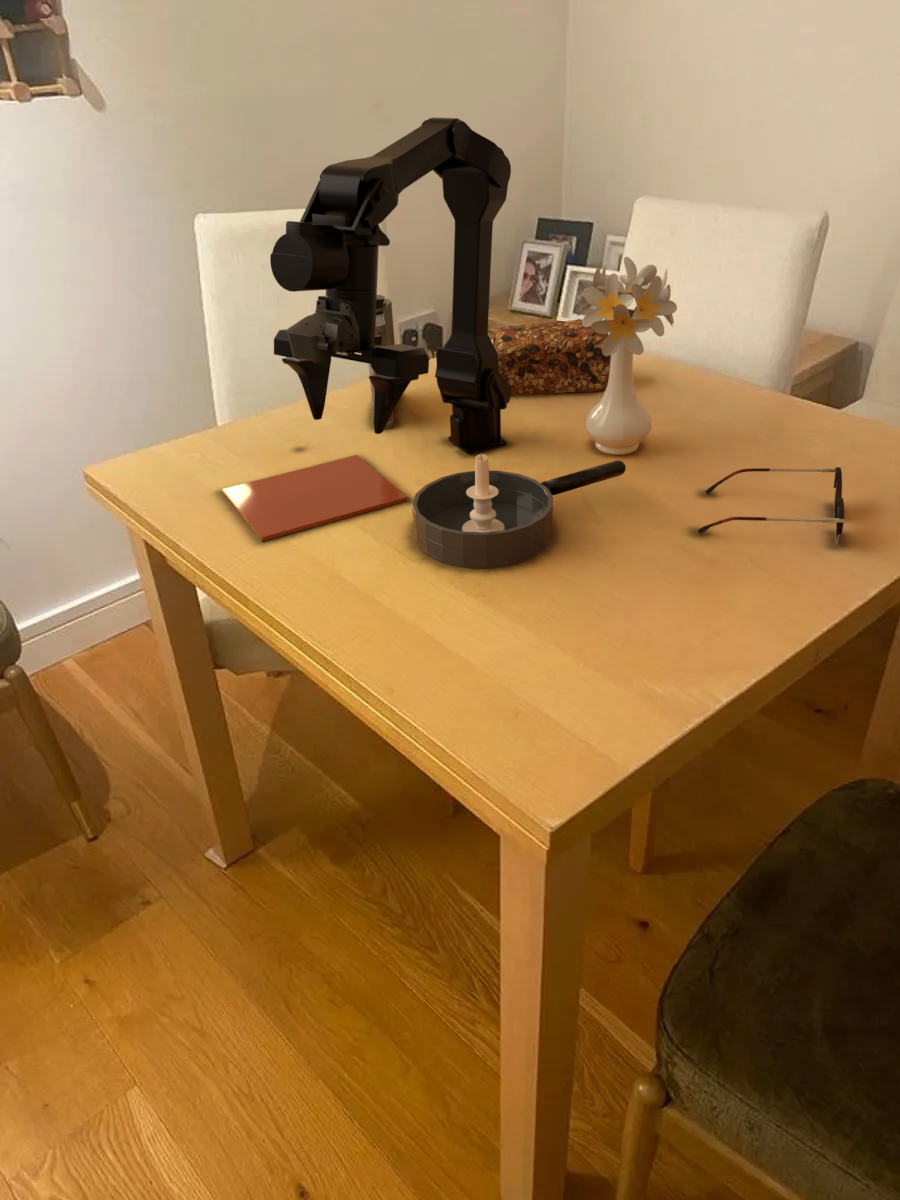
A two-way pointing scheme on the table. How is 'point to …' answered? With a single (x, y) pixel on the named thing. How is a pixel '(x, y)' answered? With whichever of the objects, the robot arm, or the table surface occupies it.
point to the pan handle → (585, 477)
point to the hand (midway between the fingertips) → (347, 426)
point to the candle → (482, 500)
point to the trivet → (311, 497)
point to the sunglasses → (837, 513)
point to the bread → (552, 357)
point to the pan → (523, 538)
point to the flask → (383, 339)
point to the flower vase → (623, 350)
